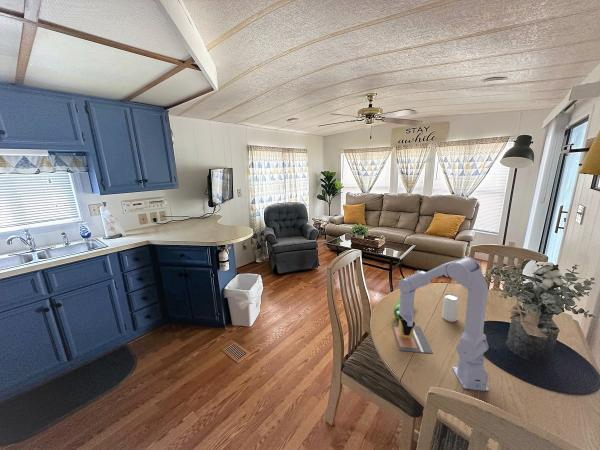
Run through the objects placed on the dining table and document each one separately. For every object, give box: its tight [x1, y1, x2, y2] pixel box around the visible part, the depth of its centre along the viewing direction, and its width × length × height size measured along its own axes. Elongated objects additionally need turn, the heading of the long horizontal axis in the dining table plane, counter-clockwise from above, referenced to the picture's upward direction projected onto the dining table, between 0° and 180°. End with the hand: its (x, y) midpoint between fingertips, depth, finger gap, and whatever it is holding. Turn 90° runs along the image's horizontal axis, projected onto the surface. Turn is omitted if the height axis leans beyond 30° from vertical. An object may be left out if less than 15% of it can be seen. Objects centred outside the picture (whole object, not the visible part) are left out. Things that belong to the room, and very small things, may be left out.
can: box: [441, 293, 460, 323], centre depth 124 cm, size 6×6×12 cm
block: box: [398, 319, 414, 338], centre depth 111 cm, size 5×5×6 cm
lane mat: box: [391, 324, 434, 354], centre depth 111 cm, size 18×13×1 cm
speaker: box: [393, 298, 400, 320], centre depth 131 cm, size 18×7×8 cm, turn 147°
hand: (405, 330), depth 111 cm, fingers closed on block, 5 cm apart
